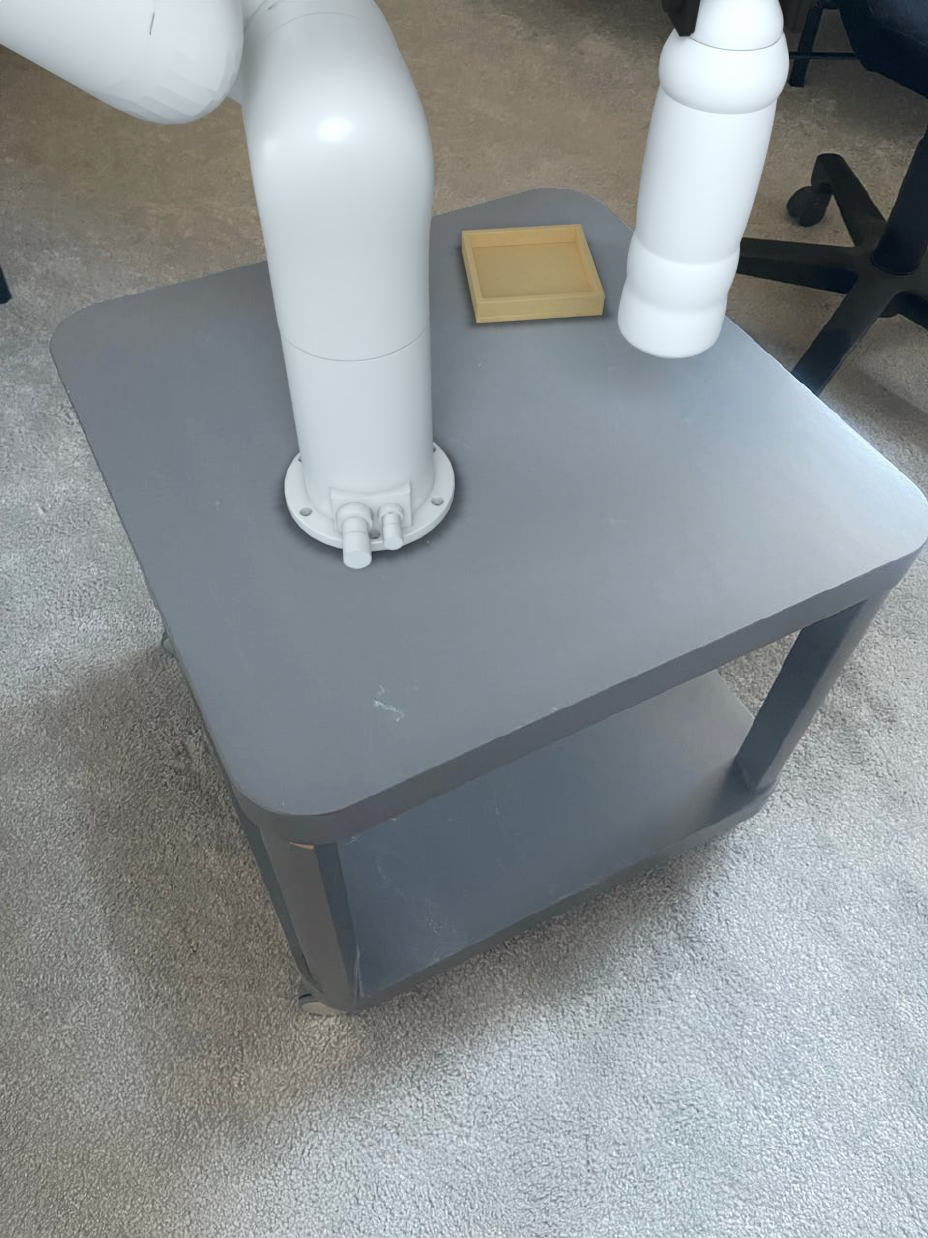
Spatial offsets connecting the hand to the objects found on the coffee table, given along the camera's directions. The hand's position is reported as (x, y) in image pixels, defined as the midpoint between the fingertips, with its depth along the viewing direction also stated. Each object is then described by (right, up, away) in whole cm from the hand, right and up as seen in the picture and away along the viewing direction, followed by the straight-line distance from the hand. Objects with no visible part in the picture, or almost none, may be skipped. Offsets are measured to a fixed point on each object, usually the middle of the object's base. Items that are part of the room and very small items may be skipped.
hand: (734, 20), depth 54 cm
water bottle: (0, -12, +16) cm, 20 cm away
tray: (-8, -1, +38) cm, 39 cm away
